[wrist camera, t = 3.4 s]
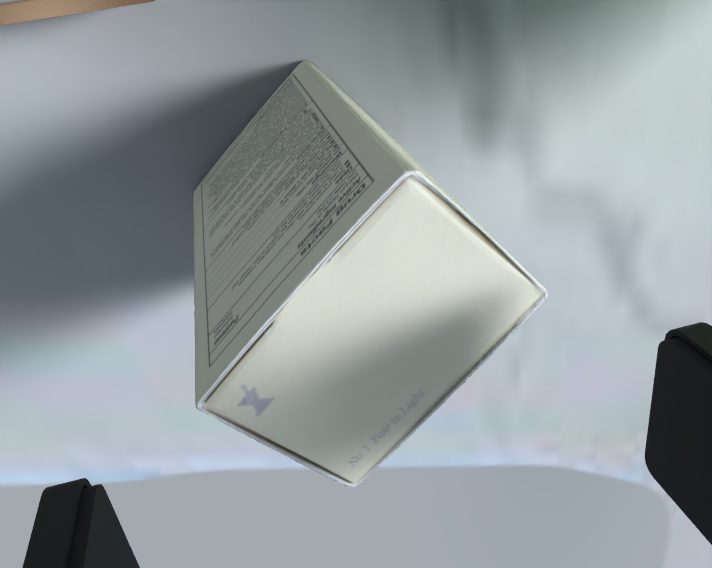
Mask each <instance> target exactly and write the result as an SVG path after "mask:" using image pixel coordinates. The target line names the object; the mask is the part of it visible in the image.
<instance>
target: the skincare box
mask: <svg viewBox="0 0 712 568" xmlns="http://www.w3.org/2000/svg"><path fill="white" fill-rule="evenodd" d="M193 216H194V306H195V311H194V316H195V403H196V408H197V409H198V410H200V411H202V412H204V413H206V414H208V415H210V416H212V417H214V418H216V419H218V420H219V421H221V422H223V423H224V424H226V425H228V426H230V427H232V428H234V429H236V430H237V431H240V432H242V433H244V434H245V435H247V436H249V437H250V438H253V439H255V440H256V441H258V442H260V443H262V444H264V445H266V446H268V447H270V448H272V449H274V450H276V451H278V452H280V453H281V454H284V455H286V456H288V457H289V458H291V459H293V460H294V461H296V462H298V463H300V464H303V465H304V466H307V467H309V468H311V469H313V470H315V471H317V472H319V473H321V474H323V475H325V476H328V477H329V478H332V479H334V480H336V481H338V482H340V483H342V484H344V485H345V486H349V487H355V486H357V485H358V484H359V483H361V482H362V481H363V480H364V479H365V478H366V477H367V476H368V475H369V474H370V473H371V472H372V471H374V470H375V469H376V468H377V467H378V466H379V465H380V464H381V463H382V462H383V461H384V460H385V459H387V458H388V457H389V456H390V455H391V454H392V453H393V452H394V451H395V450H396V449H397V448H398V447H399V446H400V445H401V444H402V443H403V442H404V441H405V440H406V439H407V438H408V437H409V436H410V435H412V434H413V433H414V432H415V430H416V429H417V428H418V427H419V426H420V425H421V424H422V423H424V422H425V421H426V420H427V419H428V418H429V417H430V416H431V415H432V414H433V413H434V412H435V411H436V410H437V409H438V408H439V407H440V406H441V405H442V404H443V403H444V402H445V401H446V400H447V399H448V398H449V397H450V396H451V395H452V394H453V393H454V392H455V391H456V390H457V389H458V388H459V387H460V386H461V385H462V384H463V383H465V381H466V380H467V378H468V377H470V376H471V375H472V374H473V373H474V372H475V371H476V370H477V369H478V368H479V367H480V366H481V365H482V364H483V363H484V362H485V361H486V360H487V359H488V358H489V357H490V356H491V355H492V354H493V353H494V352H495V351H496V350H497V349H498V347H499V346H500V345H501V344H502V343H503V342H504V341H505V340H506V339H507V338H508V337H509V336H510V335H512V334H513V332H514V331H515V330H516V329H517V328H518V327H519V326H520V325H521V324H522V323H523V322H524V321H525V320H526V319H527V318H528V317H529V316H530V315H531V314H532V313H533V312H534V311H535V310H536V309H537V308H538V307H539V306H540V305H541V304H542V303H543V302H544V300H545V299H546V298H547V291H546V289H545V288H544V287H543V286H542V285H541V284H540V283H539V282H538V281H537V280H536V279H535V278H534V277H533V276H532V275H531V274H530V273H529V272H528V271H527V270H526V269H525V268H524V267H523V266H522V265H521V264H520V263H519V262H518V261H517V260H516V259H515V258H514V257H513V256H512V255H511V254H510V253H509V252H508V251H506V250H505V249H504V248H503V247H502V246H501V245H500V244H499V243H498V242H497V241H496V240H495V239H494V238H493V237H492V236H491V235H490V234H489V233H488V232H487V231H486V230H485V229H484V228H483V227H482V226H481V225H480V224H479V223H478V222H477V221H476V220H475V219H474V218H473V217H472V216H471V215H470V214H469V213H468V212H467V211H466V210H465V209H464V208H463V207H462V206H461V205H460V204H459V203H458V202H457V201H456V200H455V199H454V198H453V197H451V196H450V195H449V194H448V193H447V192H446V191H445V190H444V189H443V188H442V187H441V186H440V185H439V184H438V183H437V182H436V181H435V180H434V179H433V178H432V177H431V176H430V175H429V174H428V173H427V172H426V171H425V170H424V169H423V168H422V167H421V166H420V165H419V164H418V163H417V162H416V161H415V160H414V159H413V158H412V157H411V156H410V155H409V154H408V153H407V152H406V151H405V150H404V149H403V148H402V147H401V146H400V145H399V144H398V143H397V142H396V141H395V140H394V139H393V138H392V137H391V136H390V135H389V134H388V133H387V132H386V131H385V130H384V129H383V128H382V127H380V126H379V125H378V124H377V123H376V122H375V121H374V120H373V119H372V118H371V117H370V116H369V115H368V114H367V113H366V112H365V111H364V110H363V109H362V108H361V107H359V106H358V105H357V104H356V103H355V102H354V101H353V100H352V99H351V98H350V97H349V96H348V95H347V94H346V93H344V92H343V91H342V90H341V89H340V88H339V87H338V86H337V85H336V84H335V83H334V82H333V81H332V80H330V79H329V78H328V77H327V76H326V75H325V74H324V73H323V72H321V71H320V70H319V69H318V68H317V67H316V66H315V65H314V64H312V63H311V62H309V61H307V60H305V61H302V62H301V63H300V64H299V65H298V66H297V67H296V68H295V69H294V70H293V71H292V73H291V74H290V75H289V76H288V77H287V78H286V80H285V81H284V82H283V83H282V84H281V85H280V86H279V88H278V89H277V90H276V91H275V92H274V93H273V95H272V96H271V97H270V98H269V99H268V101H267V102H266V103H265V104H264V105H263V106H262V108H261V109H260V110H259V111H258V112H257V114H256V115H255V116H254V117H253V118H252V120H251V121H250V122H249V123H248V124H247V126H246V127H245V128H244V129H243V131H242V132H241V133H240V134H239V135H238V137H237V138H236V139H235V140H234V141H233V143H232V144H231V145H230V146H229V147H228V149H227V150H226V151H225V152H224V154H223V155H222V156H221V157H220V159H219V160H218V161H217V162H216V164H215V165H214V166H213V167H212V169H211V170H210V171H209V173H208V174H207V175H206V176H205V178H204V179H203V180H202V182H201V183H200V184H199V185H198V187H197V188H196V189H195V191H194V194H193Z"/></svg>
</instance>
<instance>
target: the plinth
mask: <svg viewBox="0 0 712 568" xmlns="http://www.w3.org/2000/svg"><path fill="white" fill-rule="evenodd" d="M153 1H155V0H0V25H6V24H13V23H19V22H25V21H32V20H38V19H45V18H51V17H57V16H64V15H70V14H76V13H83V12H89V11H95V10H102V9H108V8H115V7H121V6H127V5H134V4H140V3H146V2H153Z"/></svg>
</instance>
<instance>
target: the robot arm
mask: <svg viewBox="0 0 712 568" xmlns="http://www.w3.org/2000/svg"><path fill="white" fill-rule="evenodd" d="M645 461H646V465H647V468H648V470H649V472H650V473H651V475H652V476H653V478H654V479H655V480H656V481H657V482H658V483H659V484H660V486H661V487H662V488H663V489H664V490H665V491H666V493H667V494H668V495H669V496H670V497H671V498H672V500H673V501H674V502H675V503H676V504H677V505H678V506H679V508H680V509H681V510H682V511H683V512H684V513H685V515H686V516H687V517H688V518H689V519H690V520H691V521H692V523H693V524H694V525H695V526H696V527H697V528H698V530H699V531H700V532H701V533H702V534H703V535H704V537H705V538H706V539H707V540H708V541H709V542H710V543H711V545H712V326H711V325H709V324H707V323H702V322H701V323H697V324H693V325H689V326H685V327H681V328H677V329H673V330H670V331H669V332H668V333H667V334H666V337H665V340H664V341H662V342H661V343H660V344H659V347H658V353H657V361H656V369H655V377H654V385H653V393H652V401H651V409H650V417H649V425H648V433H647V441H646V449H645ZM23 568H140V567H139V565H138V563H137V560H136V558H135V556H134V554H133V551H132V549H131V547H130V545H129V543H128V540H127V538H126V536H125V534H124V531H123V529H122V527H121V525H120V522H119V520H118V518H117V516H116V513H115V511H114V509H113V507H112V504H111V502H110V500H109V498H108V496H107V493H106V491H105V489H104V487H103V486H102V485H101V484H98V485H94V486H91V484H90V483H89V481H88V480H87V479H86V478H83V479H79V480H75V481H71V482H67V483H63V484H59V485H55V486H51V487H47V488H46V489H45V490H44V491H43V493H42V496H41V499H40V503H39V507H38V511H37V514H36V518H35V522H34V526H33V530H32V534H31V538H30V541H29V545H28V549H27V553H26V557H25V560H24V564H23Z"/></svg>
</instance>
